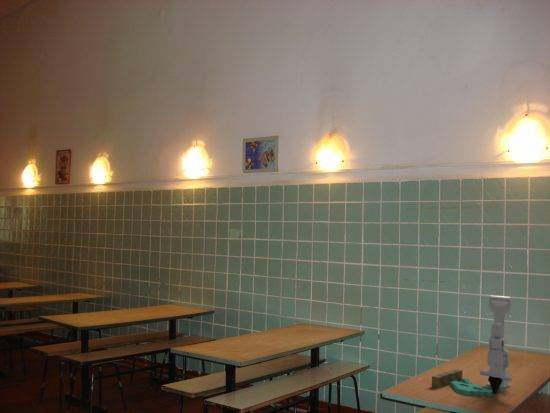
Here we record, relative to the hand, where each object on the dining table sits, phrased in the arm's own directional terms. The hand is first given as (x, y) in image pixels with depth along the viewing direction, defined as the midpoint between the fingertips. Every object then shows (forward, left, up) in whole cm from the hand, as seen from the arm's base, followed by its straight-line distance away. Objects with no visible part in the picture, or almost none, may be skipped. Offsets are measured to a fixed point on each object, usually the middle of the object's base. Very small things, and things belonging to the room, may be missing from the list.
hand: (495, 393), depth 255 cm
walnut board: (0, -24, -1) cm, 24 cm away
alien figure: (0, -11, -2) cm, 11 cm away
